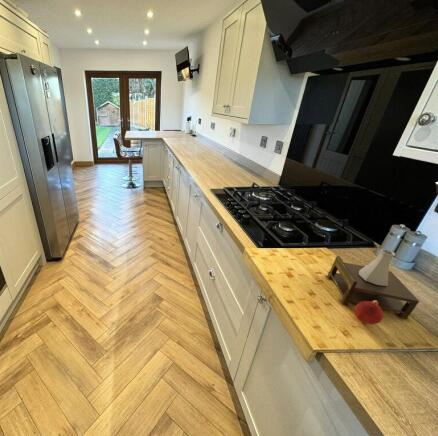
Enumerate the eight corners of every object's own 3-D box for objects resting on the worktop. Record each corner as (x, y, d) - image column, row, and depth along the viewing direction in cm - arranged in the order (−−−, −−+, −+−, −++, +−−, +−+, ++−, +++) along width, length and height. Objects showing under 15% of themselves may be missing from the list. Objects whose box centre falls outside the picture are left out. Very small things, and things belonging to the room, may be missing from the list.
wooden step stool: (381, 287, 80) (394, 266, 76) (406, 319, 68) (423, 295, 64) (327, 276, 85) (336, 255, 81) (342, 304, 73) (354, 281, 69)
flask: (382, 275, 75) (398, 249, 71) (392, 289, 69) (410, 261, 65) (354, 268, 78) (368, 243, 73) (362, 281, 72) (377, 254, 67)
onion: (371, 334, 63) (386, 313, 60) (346, 319, 67) (358, 298, 64) (379, 324, 66) (393, 303, 63) (354, 311, 70) (366, 290, 67)
